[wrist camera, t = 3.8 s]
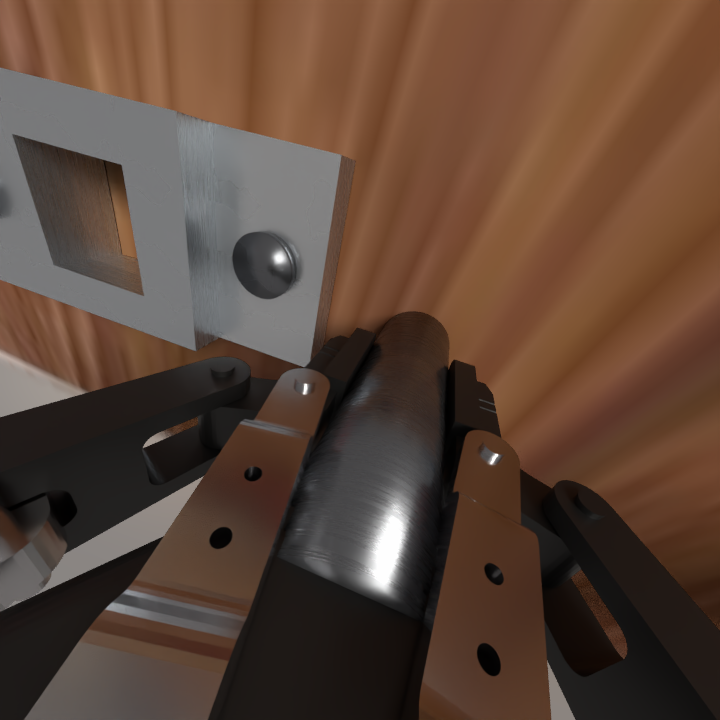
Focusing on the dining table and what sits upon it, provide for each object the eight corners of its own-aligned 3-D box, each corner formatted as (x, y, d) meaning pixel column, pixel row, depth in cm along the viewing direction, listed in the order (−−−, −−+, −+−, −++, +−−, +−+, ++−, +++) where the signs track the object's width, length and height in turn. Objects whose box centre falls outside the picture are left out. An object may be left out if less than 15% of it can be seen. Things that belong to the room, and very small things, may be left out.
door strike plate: (355, 160, 10) (315, 144, 7) (321, 354, 14) (287, 393, 11) (-21, 66, 13) (-170, 25, 10) (42, 257, 17) (-47, 269, 14)
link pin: (460, 324, 12) (474, 627, 3) (435, 383, 13) (401, 693, 5) (389, 302, 12) (244, 525, 4) (372, 362, 14) (242, 616, 5)
